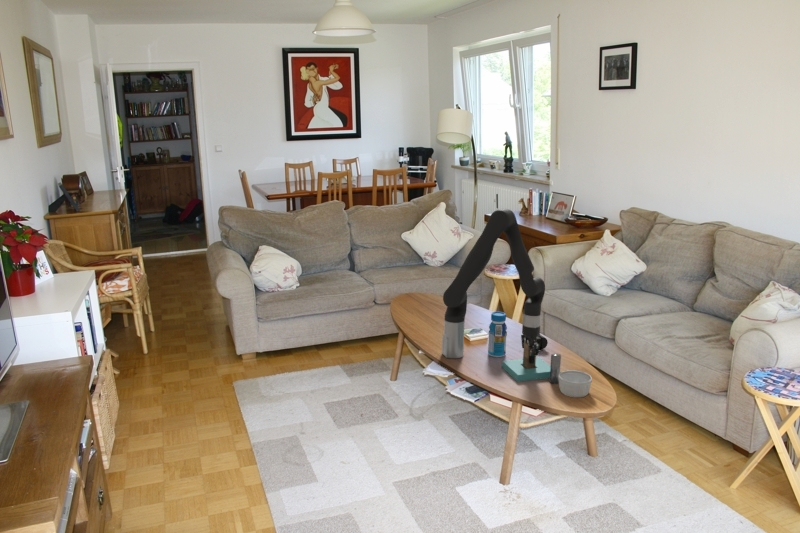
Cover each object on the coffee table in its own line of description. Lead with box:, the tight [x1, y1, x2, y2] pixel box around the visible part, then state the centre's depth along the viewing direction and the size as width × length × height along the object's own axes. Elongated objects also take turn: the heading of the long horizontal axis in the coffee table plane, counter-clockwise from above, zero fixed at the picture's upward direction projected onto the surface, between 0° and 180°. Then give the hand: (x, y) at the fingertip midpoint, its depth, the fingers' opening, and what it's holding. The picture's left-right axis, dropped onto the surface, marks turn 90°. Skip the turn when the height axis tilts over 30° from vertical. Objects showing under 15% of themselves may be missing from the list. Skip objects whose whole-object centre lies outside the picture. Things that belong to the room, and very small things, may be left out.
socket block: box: [501, 356, 551, 382], centre depth 291 cm, size 18×16×3 cm
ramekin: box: [558, 369, 593, 398], centre depth 272 cm, size 13×13×7 cm
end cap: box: [537, 334, 549, 351], centre depth 320 cm, size 10×7×7 cm
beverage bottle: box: [487, 311, 508, 358], centre depth 309 cm, size 8×8×20 cm
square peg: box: [522, 342, 537, 369], centre depth 290 cm, size 4×4×12 cm
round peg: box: [549, 353, 562, 385], centre depth 280 cm, size 4×4×12 cm
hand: (529, 361), depth 290 cm, fingers closed on square peg, 4 cm apart
